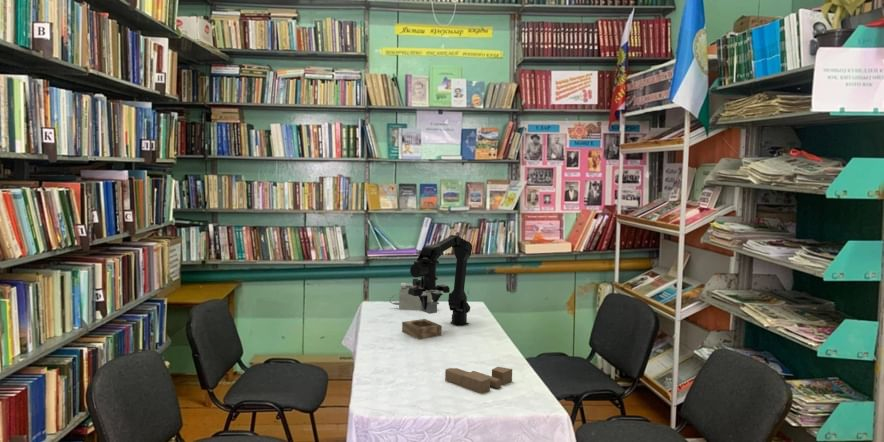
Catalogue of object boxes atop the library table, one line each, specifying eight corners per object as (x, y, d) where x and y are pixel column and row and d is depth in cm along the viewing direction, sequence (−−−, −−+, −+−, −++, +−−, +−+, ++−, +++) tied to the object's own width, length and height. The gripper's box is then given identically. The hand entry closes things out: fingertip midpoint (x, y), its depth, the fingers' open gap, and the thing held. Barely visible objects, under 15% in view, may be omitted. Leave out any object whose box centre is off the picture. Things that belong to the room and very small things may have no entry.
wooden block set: (484, 379, 200) (444, 366, 212) (483, 395, 200) (443, 381, 212) (514, 367, 212) (475, 355, 224) (514, 383, 212) (475, 370, 225)
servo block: (426, 308, 275) (426, 296, 275) (438, 313, 267) (439, 300, 267) (418, 309, 273) (419, 297, 273) (431, 314, 265) (431, 301, 264)
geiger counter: (438, 283, 317) (390, 281, 320) (436, 285, 311) (388, 283, 313) (437, 309, 318) (390, 307, 321) (436, 312, 312) (388, 310, 314)
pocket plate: (424, 328, 280) (424, 318, 280) (441, 335, 269) (441, 325, 268) (402, 331, 274) (402, 321, 273) (418, 339, 262) (418, 329, 262)
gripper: (436, 270, 281) (435, 303, 282) (402, 273, 270) (401, 307, 271) (450, 274, 272) (449, 308, 273) (415, 277, 261) (414, 313, 262)
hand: (428, 309), depth 270 cm, fingers closed on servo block, 4 cm apart
